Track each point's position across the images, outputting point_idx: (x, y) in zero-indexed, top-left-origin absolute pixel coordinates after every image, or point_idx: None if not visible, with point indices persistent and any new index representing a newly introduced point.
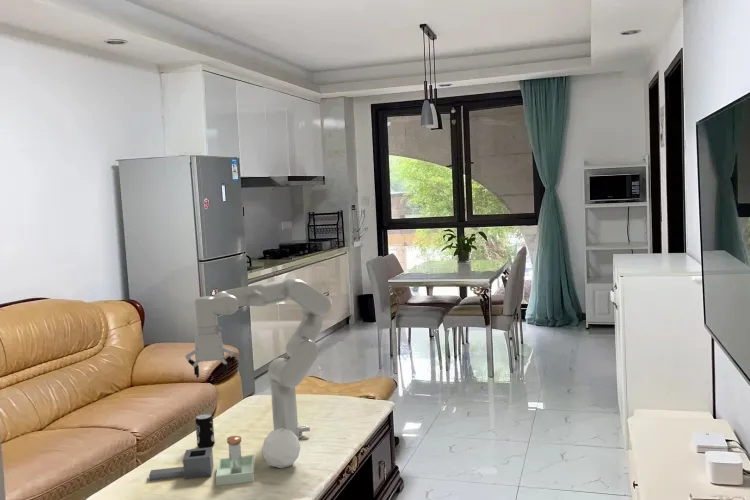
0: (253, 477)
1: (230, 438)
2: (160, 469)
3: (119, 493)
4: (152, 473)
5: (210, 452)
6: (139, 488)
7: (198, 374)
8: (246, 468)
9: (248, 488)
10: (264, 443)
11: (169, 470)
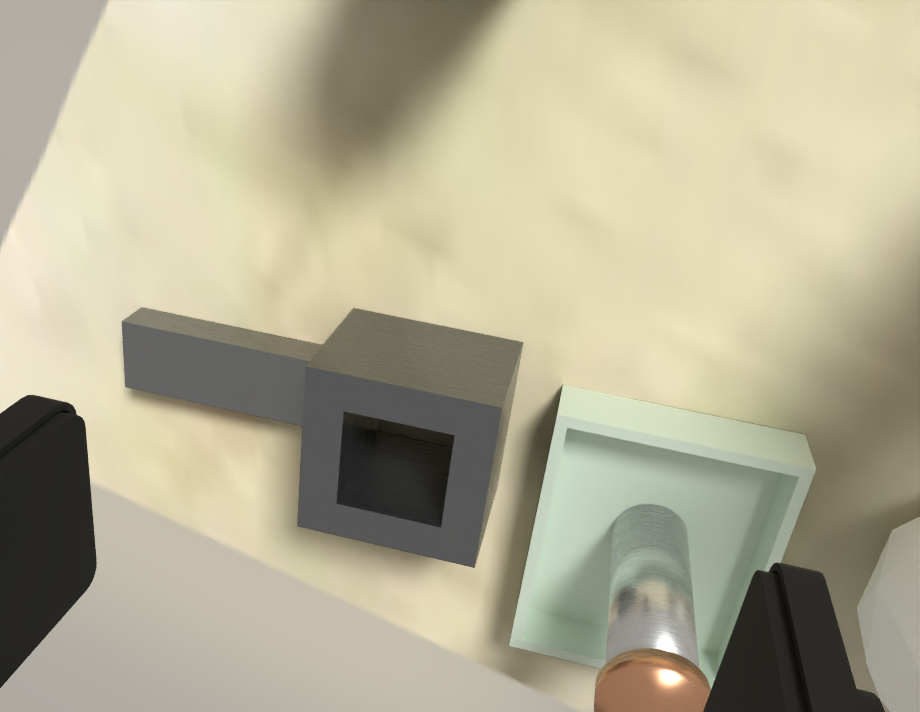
0: None
1: (623, 703)
2: (178, 339)
3: None
4: (141, 375)
5: (483, 499)
6: (112, 442)
7: (57, 577)
8: (724, 511)
9: None
10: (897, 681)
11: (237, 380)
